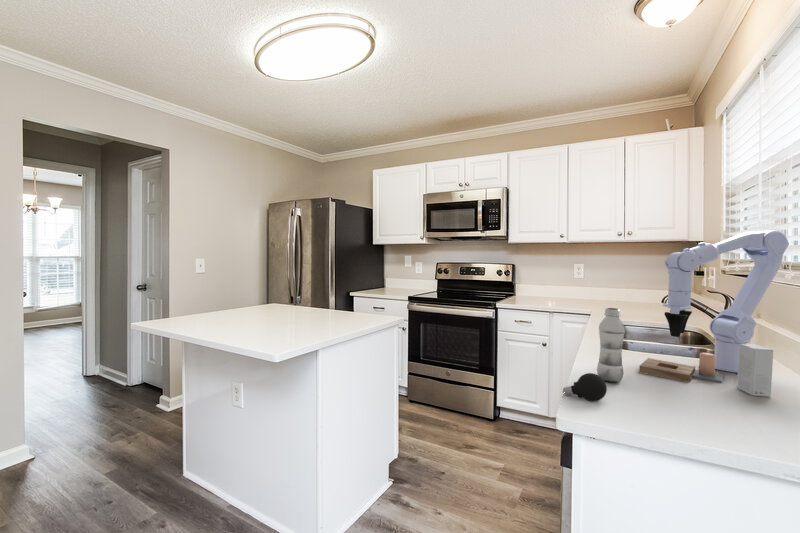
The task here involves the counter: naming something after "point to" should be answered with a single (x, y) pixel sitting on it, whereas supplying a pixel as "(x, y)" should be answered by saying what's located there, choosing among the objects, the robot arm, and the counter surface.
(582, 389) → the light bulb
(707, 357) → the peg
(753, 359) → the skincare box
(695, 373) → the rubber pad
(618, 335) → the plastic bottle
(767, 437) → the counter surface
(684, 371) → the walnut holder
